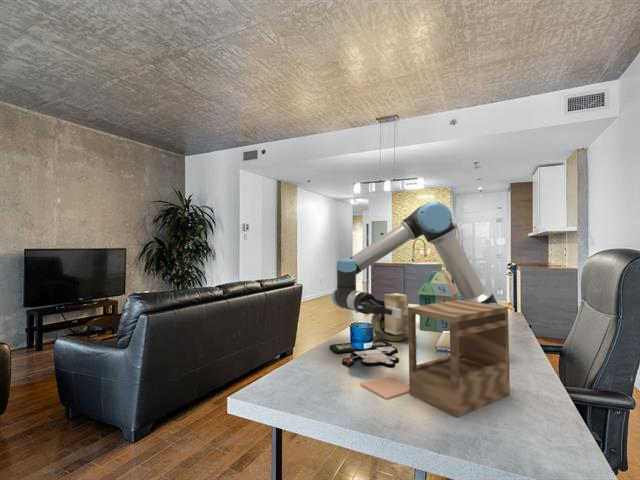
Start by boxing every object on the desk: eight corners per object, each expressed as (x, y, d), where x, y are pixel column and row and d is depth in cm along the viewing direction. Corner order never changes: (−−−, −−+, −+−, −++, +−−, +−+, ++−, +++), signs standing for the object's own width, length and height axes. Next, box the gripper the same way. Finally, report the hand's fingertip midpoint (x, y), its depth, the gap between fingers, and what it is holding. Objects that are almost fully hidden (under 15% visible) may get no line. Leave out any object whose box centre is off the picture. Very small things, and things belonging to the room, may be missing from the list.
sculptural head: (377, 304, 180) (359, 307, 158) (417, 299, 170) (404, 300, 149) (382, 339, 176) (365, 346, 155) (424, 335, 167) (411, 342, 145)
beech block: (396, 329, 114) (396, 293, 115) (407, 332, 110) (406, 295, 110) (384, 331, 112) (384, 294, 112) (395, 334, 108) (395, 296, 108)
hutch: (461, 377, 114) (460, 299, 114) (509, 395, 100) (508, 306, 100) (409, 394, 101) (408, 307, 101) (456, 417, 87) (454, 316, 88)
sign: (383, 339, 155) (419, 361, 126) (383, 343, 155) (419, 366, 126) (326, 345, 148) (350, 369, 119) (326, 349, 148) (350, 374, 119)
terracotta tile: (388, 377, 114) (388, 375, 114) (416, 390, 104) (416, 388, 104) (360, 385, 108) (360, 383, 108) (386, 400, 98) (386, 397, 98)
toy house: (459, 327, 180) (458, 270, 180) (453, 334, 166) (452, 272, 167) (426, 324, 189) (425, 269, 190) (417, 330, 175) (416, 271, 176)
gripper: (380, 310, 131) (428, 321, 111) (341, 315, 122) (385, 329, 102) (380, 290, 131) (428, 298, 111) (341, 293, 122) (385, 303, 102)
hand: (407, 313), depth 106 cm, fingers closed on beech block, 5 cm apart
